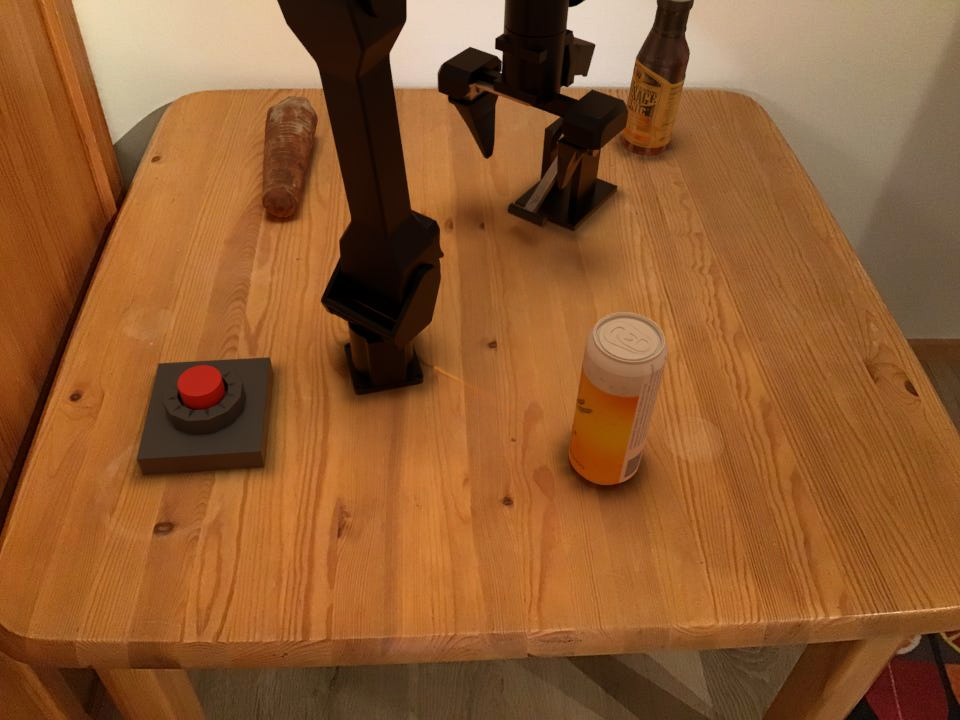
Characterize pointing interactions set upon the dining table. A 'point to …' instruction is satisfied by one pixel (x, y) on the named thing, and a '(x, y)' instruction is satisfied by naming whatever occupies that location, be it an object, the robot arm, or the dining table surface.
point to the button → (201, 387)
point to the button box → (208, 420)
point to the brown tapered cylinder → (287, 154)
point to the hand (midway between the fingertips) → (524, 171)
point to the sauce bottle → (658, 80)
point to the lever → (537, 198)
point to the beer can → (616, 396)
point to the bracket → (570, 186)
